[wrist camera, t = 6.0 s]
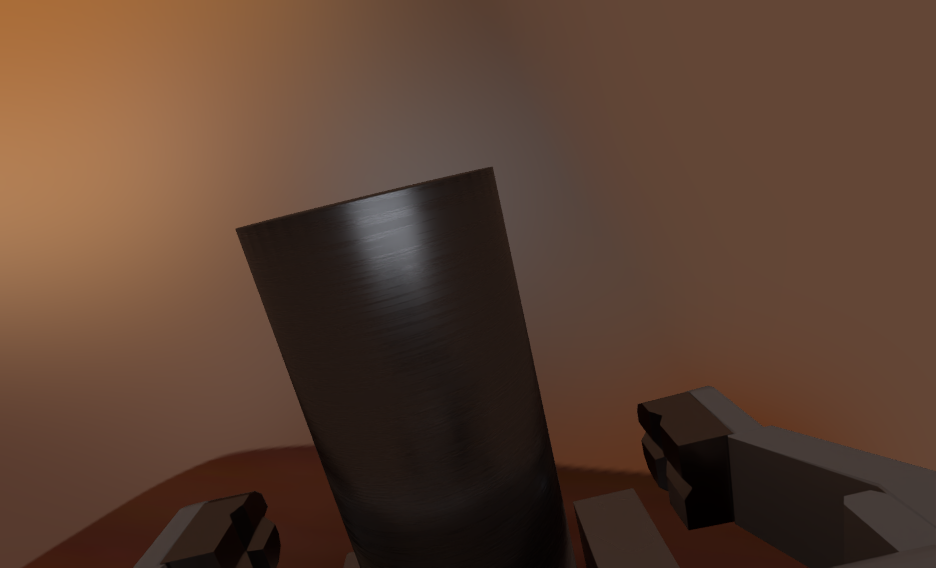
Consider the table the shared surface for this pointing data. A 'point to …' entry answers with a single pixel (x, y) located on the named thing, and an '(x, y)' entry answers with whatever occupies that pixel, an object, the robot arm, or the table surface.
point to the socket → (612, 534)
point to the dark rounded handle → (416, 374)
